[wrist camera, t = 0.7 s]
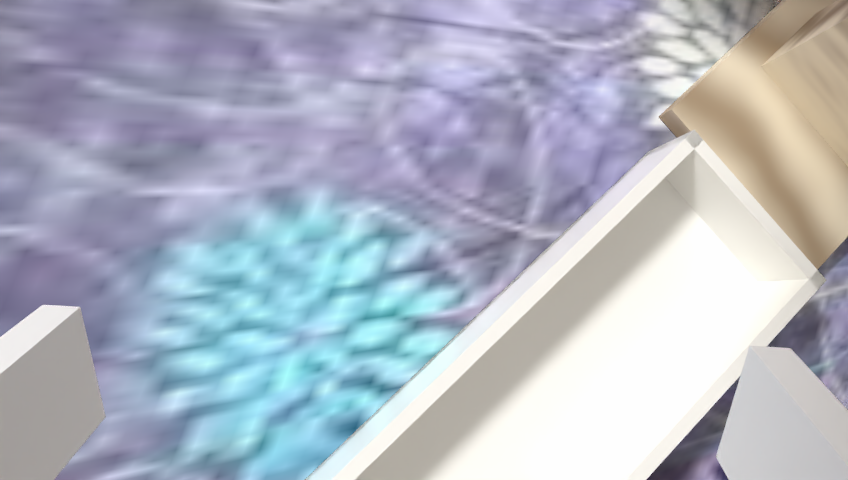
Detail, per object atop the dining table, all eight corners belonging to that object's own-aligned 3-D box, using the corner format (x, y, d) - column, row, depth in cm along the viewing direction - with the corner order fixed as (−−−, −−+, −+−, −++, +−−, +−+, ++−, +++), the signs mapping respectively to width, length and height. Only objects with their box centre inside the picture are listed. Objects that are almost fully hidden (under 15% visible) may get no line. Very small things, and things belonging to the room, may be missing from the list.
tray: (413, 659, 33) (426, 722, 28) (274, 508, 33) (263, 545, 28) (763, 282, 38) (826, 280, 33) (648, 151, 38) (694, 129, 33)
